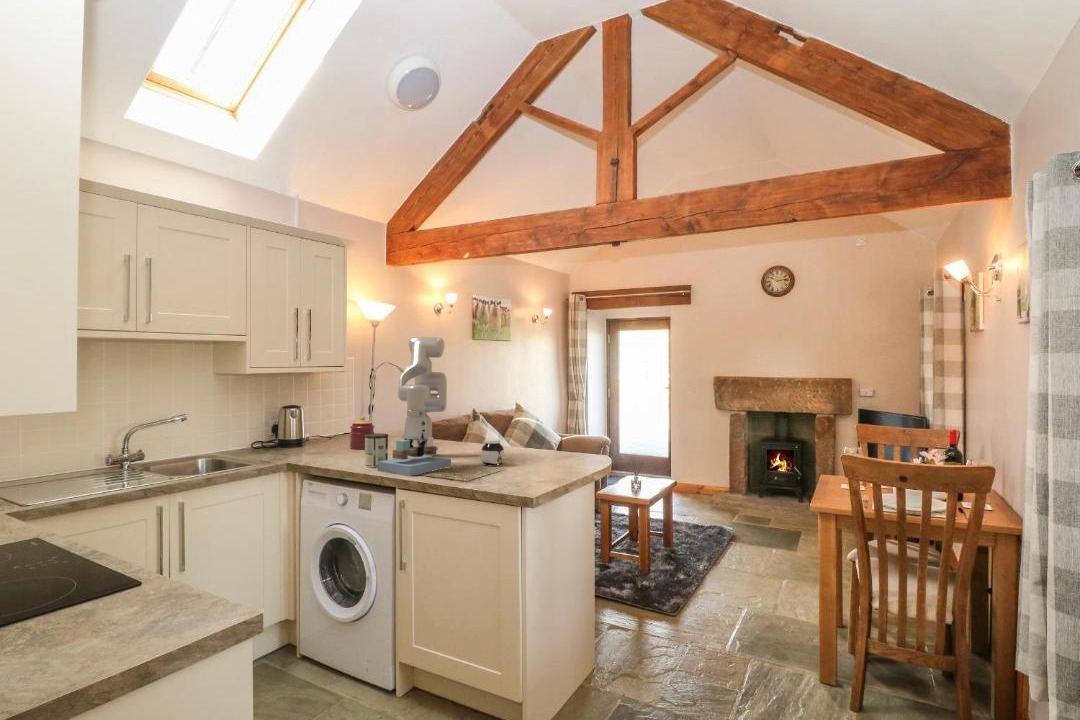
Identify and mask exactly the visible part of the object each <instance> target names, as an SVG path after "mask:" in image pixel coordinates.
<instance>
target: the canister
mask: <svg viewBox="0 0 1080 720" xmlns="http://www.w3.org/2000/svg"><path fill="white" fill-rule="evenodd" d="M373 423H374V421H372V420H371V419H366V417H365V416H363V415H361V416H360V417H359V419H355V420H353V421H352V422H351V424H352V425H350V426H349V428H350V432H349V435H350V436H349V441H350V443H349V448H350V449H351V448H352V449H351V450H365V435H367V434H376V433H375V431H374V428H375V425H374V424H373Z"/></svg>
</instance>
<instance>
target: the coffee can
mask: <svg viewBox="0 0 1080 720" xmlns="http://www.w3.org/2000/svg"><path fill="white" fill-rule="evenodd" d="M388 441H389V434H388V433H381V432H380V433H379V432H378V433H374V434H367V435H365V449H364V467H365V468H370V467H377V468H378V462H379V461H385V460H389V458H388V456H389V442H388Z"/></svg>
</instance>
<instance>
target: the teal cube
mask: <svg viewBox="0 0 1080 720" xmlns="http://www.w3.org/2000/svg"><path fill="white" fill-rule="evenodd" d="M395 445H396V446H395V450H399V451H406V450H410V441H409V440H404V439H400V440H396V441H395Z"/></svg>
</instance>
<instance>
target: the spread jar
mask: <svg viewBox="0 0 1080 720" xmlns="http://www.w3.org/2000/svg"><path fill="white" fill-rule="evenodd" d="M484 442H485V443H484V445H483V446H481V447H482V448H481V453H480V458H481V463H482V464H483V465H484V464H486V465H497V464H501V465H502V464H503V462H504V459H505V450H504V446H503V445H502V444H501V439H500V438H486V439H485V441H484ZM486 465H485V466H486Z"/></svg>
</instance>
